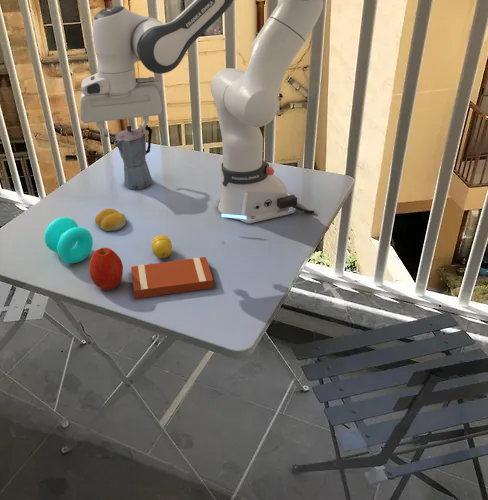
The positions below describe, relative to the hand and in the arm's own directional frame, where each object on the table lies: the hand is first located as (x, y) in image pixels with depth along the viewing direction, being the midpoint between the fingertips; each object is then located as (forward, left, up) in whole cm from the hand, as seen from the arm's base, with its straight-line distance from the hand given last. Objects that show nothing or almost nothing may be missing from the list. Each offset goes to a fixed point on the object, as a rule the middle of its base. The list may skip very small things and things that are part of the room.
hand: (124, 134), depth 142 cm
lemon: (-5, +13, -29) cm, 32 cm away
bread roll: (+7, -6, -29) cm, 31 cm away
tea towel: (-7, +25, -29) cm, 39 cm away
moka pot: (-3, -30, -29) cm, 42 cm away
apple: (+8, +23, -29) cm, 38 cm away
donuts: (+18, +8, -29) cm, 35 cm away
